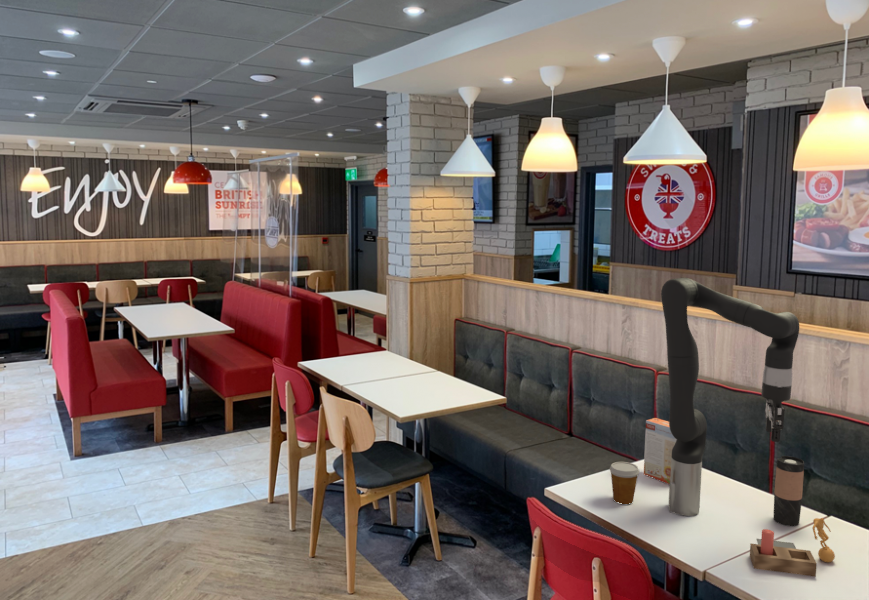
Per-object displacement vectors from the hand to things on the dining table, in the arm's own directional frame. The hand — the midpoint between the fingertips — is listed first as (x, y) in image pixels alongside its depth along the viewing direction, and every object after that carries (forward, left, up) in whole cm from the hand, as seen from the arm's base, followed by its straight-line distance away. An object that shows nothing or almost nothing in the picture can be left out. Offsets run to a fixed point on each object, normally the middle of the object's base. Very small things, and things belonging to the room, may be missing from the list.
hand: (772, 436), depth 198 cm
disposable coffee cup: (-41, +16, -32) cm, 54 cm away
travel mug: (+8, +14, -32) cm, 36 cm away
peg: (-3, -16, -32) cm, 35 cm away
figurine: (+13, -9, -32) cm, 35 cm away
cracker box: (-27, +39, -32) cm, 57 cm away
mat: (+2, -5, -32) cm, 32 cm away
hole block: (+1, -16, -32) cm, 35 cm away
